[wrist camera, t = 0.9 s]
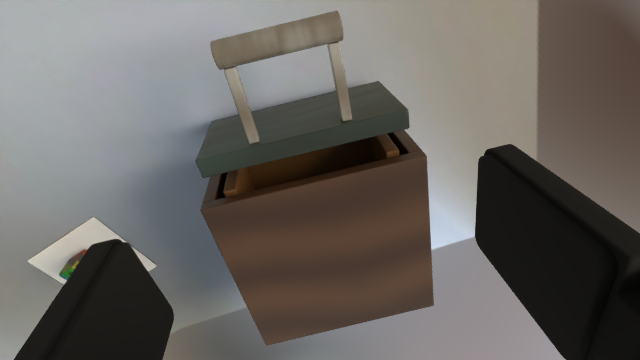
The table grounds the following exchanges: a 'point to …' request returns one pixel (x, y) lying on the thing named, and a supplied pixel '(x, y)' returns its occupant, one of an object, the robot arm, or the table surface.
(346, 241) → the cabinet
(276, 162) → the drawer
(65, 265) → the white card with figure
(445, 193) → the table surface
